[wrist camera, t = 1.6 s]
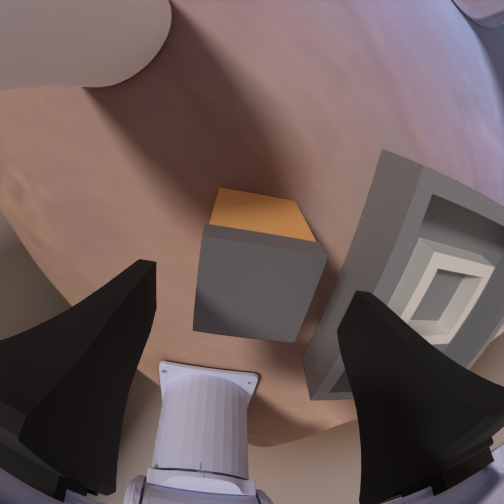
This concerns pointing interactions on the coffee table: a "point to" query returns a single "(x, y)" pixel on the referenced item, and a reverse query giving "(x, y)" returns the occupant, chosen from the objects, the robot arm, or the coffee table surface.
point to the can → (78, 41)
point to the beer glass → (483, 11)
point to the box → (418, 269)
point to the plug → (256, 268)
